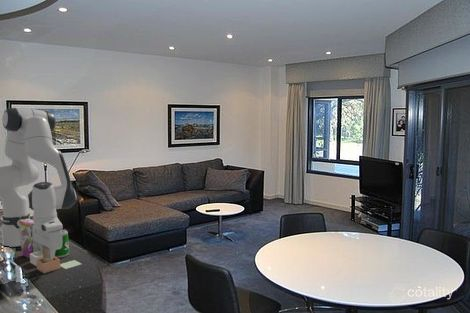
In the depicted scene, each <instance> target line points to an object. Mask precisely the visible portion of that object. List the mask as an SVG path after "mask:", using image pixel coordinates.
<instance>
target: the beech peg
mask: <svg viewBox="0 0 470 313" xmlns="http://www.w3.org/2000/svg"><path fill="white" fill-rule="evenodd" d="M42 248H43V262H44V263H47V262H50V261H53V258H52V259H51V258H50V257H49V254H50V250H49V248H47V247H45V246H44V245H43V246H42Z"/></svg>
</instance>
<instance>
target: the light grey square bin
mask: <svg viewBox="0 0 470 313" xmlns="http://www.w3.org/2000/svg"><path fill="white" fill-rule="evenodd" d="M42 258H43V254H42V253H41V251H38V252H34V253H31V254H30V258H29V262H30V264H31V265H34V266H35V267H37V260H38V259H42Z"/></svg>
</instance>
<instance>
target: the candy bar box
mask: <svg viewBox="0 0 470 313" xmlns="http://www.w3.org/2000/svg"><path fill="white" fill-rule="evenodd" d="M33 225H34V222H33V218H32V219H31V218H30V219H24V220H20V221H19V230H20V241H21V246H20V248H21V250H20V252H21V255H22V256H23V257H26V258H27V259H30V254H31V253H34V252H38V251H41V248H40V246H39V243H38V242H36V241H34V239H33Z"/></svg>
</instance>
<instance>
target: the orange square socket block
mask: <svg viewBox="0 0 470 313" xmlns="http://www.w3.org/2000/svg"><path fill="white" fill-rule="evenodd" d="M60 259H61V258H56V257H55V258H53V261H50V262H47V263H44V262H43V258H42V259H38V260H37V266H36V270H38V271H39V272H41V273H43V274H47V273H51V272H54V271H57V270H60V269H61V266H60V264H61V260H60Z"/></svg>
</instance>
